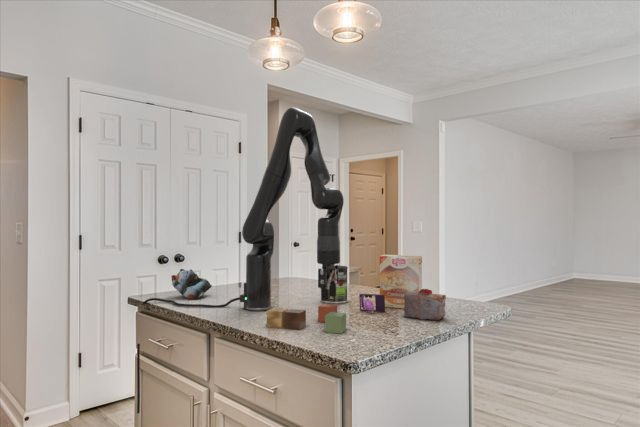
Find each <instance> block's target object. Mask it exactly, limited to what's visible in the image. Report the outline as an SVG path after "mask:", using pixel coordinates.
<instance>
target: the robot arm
mask: <svg viewBox="0 0 640 427" xmlns="http://www.w3.org/2000/svg"><path fill="white" fill-rule="evenodd" d="M295 137H296V138H299V140H300V141H301V143H302V144H303V148H304V159H303V163H304V164H303V165H304V169H305V172H306V175H307V177H308V179H309V182H310V184H309V185H310V196H311V197H310V198H311V203H312V204H313V206H314V207H315V208H316V209H318V210H326V214H325V215H324V216H322V217H320V218H318V220H317V238H316V239H317V240H316V262H317V264H318V265H322V266H321V268H318V269H317V288H318V289H320V300H321V302H322V301H328V287H329V295H330V296H331V297H335V296H336V285H337V282H338V281H339V278H338V266H339V264H340V263H341V241H340V219H341V216H342V212H343V208H344V203H345V202H344V201H345V200H344V194H343V192H342V191H341V190H340V189H339V188H332V187H330V188H329V187H326V186H327V185H328V184H329V183H330V182H331V174H330V171H329V169H328V166H327V164H326V162H325V159H324V156H323V153H322V149H321V145H320V141H319V137H318V131H317V126H316V123H315V119H314V117H313V116H312V115H311V114H310V113H308V112H306V111H303V110H301V109H299V108H297V107H289V108H287V109H286V110H285V111H284V113H283V114H282V117H281V119H280V122H279V125H278V130H277V133H276V137H275V142H274V145H273V148H272V152H271V155H270V157H269V160H268V163H267V166H266V168H265V170H264V174H263V175H262V179H261V183H260V185H259V188H258V191H257V194H256V196H255V199H254V202H253V203H252V206H251V208H250V210H249V212H248V215H247V217H246V218H245V221H244V223H243V225H242V230H241V235H242V239H243V241H244V242H245V243H246V244H249V245H252V248H251V250H250V251H249V252H248V253H247V254H246V256H245V282H244V283H243V293H242V294H240V295H239V297H235V298H233V299H230V300H229V301H227V302H226V303H224V304H216V305H215V304H214V305H213V304H202V303H201V304H199V303H197V304H194V303H180V302H176V301H175V300H173V299H172V300H171V299H166V298H165V299H164V298H159V297H151V298H147V299H146V300H144V301H143V302H142V304H147V303H149V302H151V301H157V302H163V303H172V304H174V305H175V306H179V307H188V308H189V307H192V308H196V307H197V308H212V309H213V308H224V307H228V306H229V305H230V304H231V303H233V302H236V301H239V302H240V303H243V310H247V311H253V312H255V311H256V312H261V311H267V310H270V309H272V257H273V255H274V247H275V229H274V226H273V223H272V222H271V221H270V220H269V219H268V217H269V214H270V212H271V211H272V209H273V207H274V206H275V205H276V204H277V203H278V201H279V200H281V198H282V196H283V195H284V193H285V191H286V190H287V187H288V184H289V182H290V179H291V177H292V162H291V147H292V143H293V141H294V138H295ZM323 283H324V284H323ZM140 350H141V344H140V343H137V346H136V352H137V353H136V356H137V357H136V358H137V359H136V376H137V377H136V379H137V380H136V383H137V384H136V386H137V387H136V388H137V389H136V390H137V396H136V398H137V400H136V402H137V403H136V414H137V415H138V414H140V412H141V411H140V410H141V409H140V408H141V372H140V370H141V369H140V368H141V366H140V364H141V362H140V361H141V360H140V356H141V351H140Z"/></svg>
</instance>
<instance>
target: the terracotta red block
mask: <svg viewBox="0 0 640 427" xmlns="http://www.w3.org/2000/svg"><path fill="white" fill-rule="evenodd" d="M330 312H338V304H332V303H322V304H320V305H318V306H317V322H319V323H325V315H326V314H328V313H330Z"/></svg>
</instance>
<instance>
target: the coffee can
mask: <svg viewBox="0 0 640 427" xmlns="http://www.w3.org/2000/svg"><path fill="white" fill-rule="evenodd" d="M348 268H349V267H348V266H347V265H338V278H339V281H338V282H337V285H336V296H335V297H331V296H330V295H329V287H328V301H322V300H321V302H322V303H323V304H336V305H338V304H345V303H348ZM323 284H324V283H323Z"/></svg>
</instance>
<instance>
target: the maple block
mask: <svg viewBox="0 0 640 427" xmlns="http://www.w3.org/2000/svg"><path fill="white" fill-rule="evenodd" d="M288 310H289V308H285V307H284V308H282V307H271V309H268V310H266V328H275V329H283V328H285V312H286V311H288Z"/></svg>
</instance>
